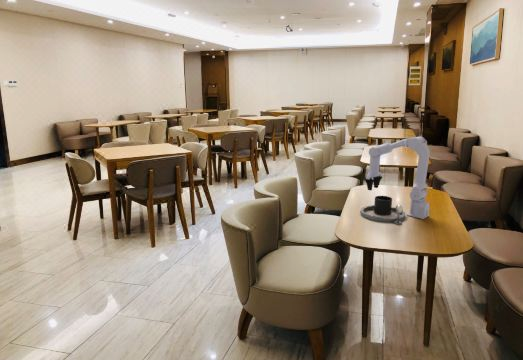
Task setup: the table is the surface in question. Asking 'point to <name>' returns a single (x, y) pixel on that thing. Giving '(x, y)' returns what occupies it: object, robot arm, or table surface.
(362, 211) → the ring
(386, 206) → the mug
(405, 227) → the table surface
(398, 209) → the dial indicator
